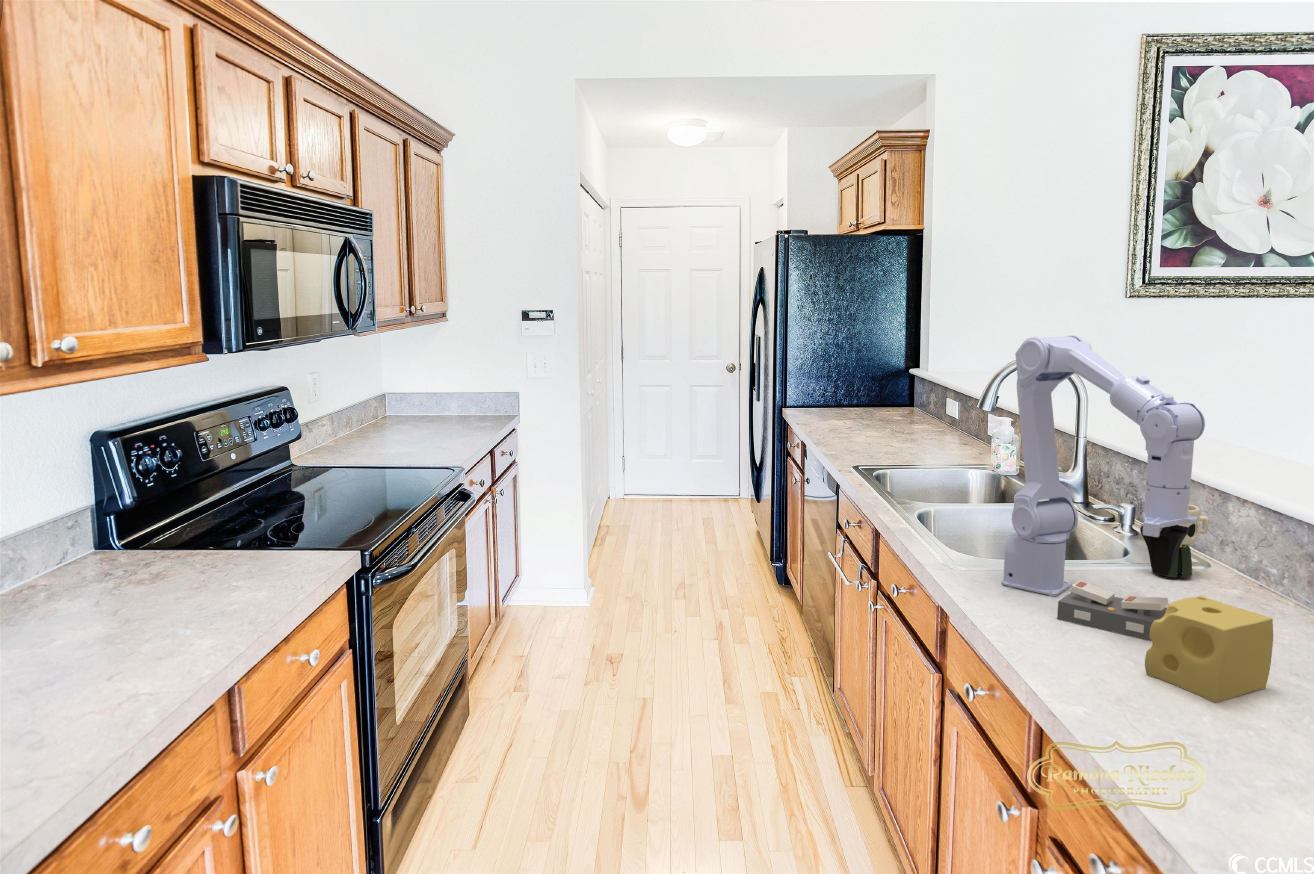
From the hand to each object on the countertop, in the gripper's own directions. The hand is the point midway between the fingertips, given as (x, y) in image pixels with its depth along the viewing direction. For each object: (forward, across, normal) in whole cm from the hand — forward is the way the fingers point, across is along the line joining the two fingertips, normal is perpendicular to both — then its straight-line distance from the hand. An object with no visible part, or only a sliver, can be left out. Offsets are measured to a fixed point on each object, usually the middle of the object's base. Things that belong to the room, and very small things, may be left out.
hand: (1161, 573), depth 131 cm
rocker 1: (+5, 0, +10) cm, 11 cm away
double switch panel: (+9, 0, +6) cm, 11 cm away
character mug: (+10, +32, +6) cm, 34 cm away
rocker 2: (+5, 0, +2) cm, 5 cm away
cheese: (+10, -14, -10) cm, 20 cm away
